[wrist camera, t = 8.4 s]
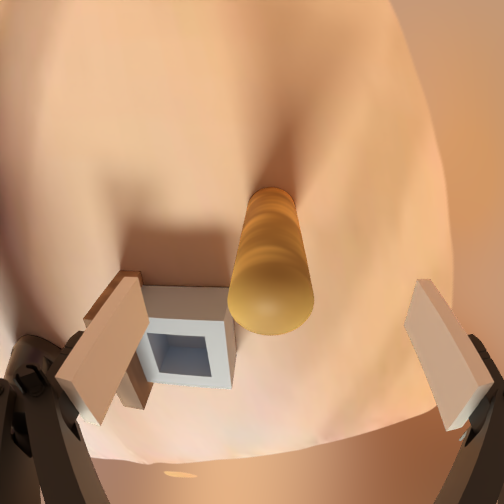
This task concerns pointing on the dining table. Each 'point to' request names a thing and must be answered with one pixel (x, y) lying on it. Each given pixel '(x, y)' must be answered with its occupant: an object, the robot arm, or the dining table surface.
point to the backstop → (134, 381)
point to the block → (188, 337)
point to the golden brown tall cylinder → (271, 268)
